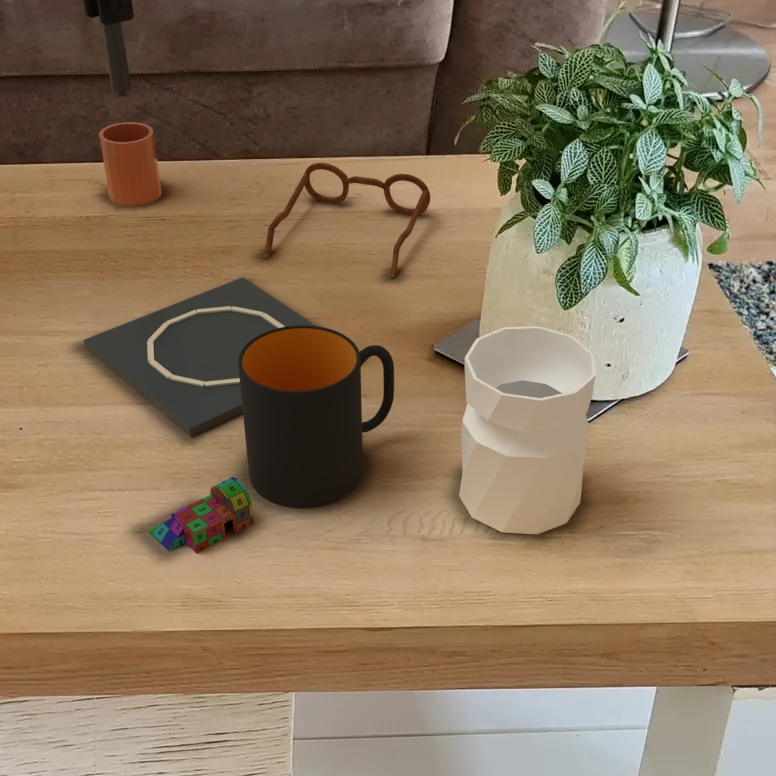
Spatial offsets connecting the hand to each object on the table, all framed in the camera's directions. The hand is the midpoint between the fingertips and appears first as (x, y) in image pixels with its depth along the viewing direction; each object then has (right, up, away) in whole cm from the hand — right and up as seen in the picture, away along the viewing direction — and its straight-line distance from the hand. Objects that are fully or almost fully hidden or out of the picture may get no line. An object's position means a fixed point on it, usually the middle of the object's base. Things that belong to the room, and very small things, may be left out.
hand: (109, 16), depth 108 cm
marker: (0, -6, +5) cm, 8 cm away
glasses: (+22, -20, +6) cm, 30 cm away
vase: (+36, -44, -24) cm, 62 cm away
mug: (+22, -41, -22) cm, 52 cm away
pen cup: (-1, -14, +11) cm, 18 cm away
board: (+12, -33, -11) cm, 37 cm away
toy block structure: (+14, -46, -28) cm, 56 cm away
